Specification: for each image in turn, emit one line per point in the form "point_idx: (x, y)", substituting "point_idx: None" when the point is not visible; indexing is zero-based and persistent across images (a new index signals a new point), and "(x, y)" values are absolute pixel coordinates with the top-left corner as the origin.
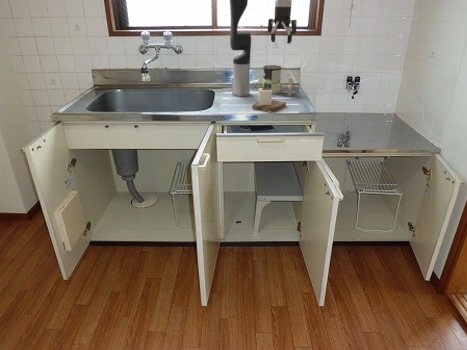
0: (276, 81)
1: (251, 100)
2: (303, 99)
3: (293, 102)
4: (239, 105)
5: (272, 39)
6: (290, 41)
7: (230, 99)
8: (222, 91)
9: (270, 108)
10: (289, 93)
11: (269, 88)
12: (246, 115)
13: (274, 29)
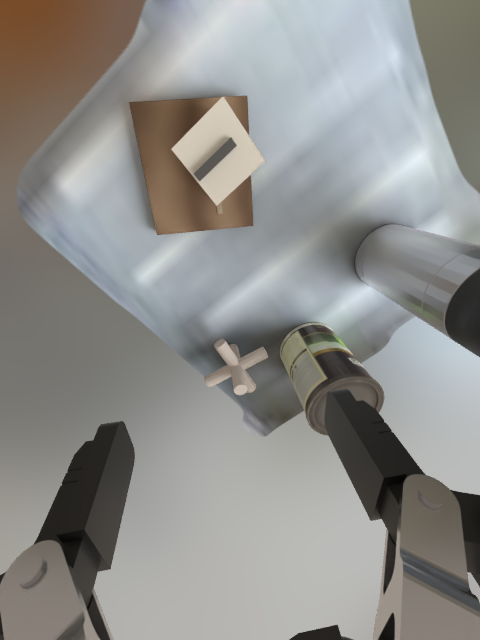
0: (295, 364)
1: (311, 210)
2: (168, 341)
3: (170, 291)
4: (318, 105)
5: (351, 410)
6: (79, 456)
7: (392, 163)
8: (464, 240)
9: (145, 101)
10: (231, 349)
11: (201, 169)
12: None
13: (412, 580)
